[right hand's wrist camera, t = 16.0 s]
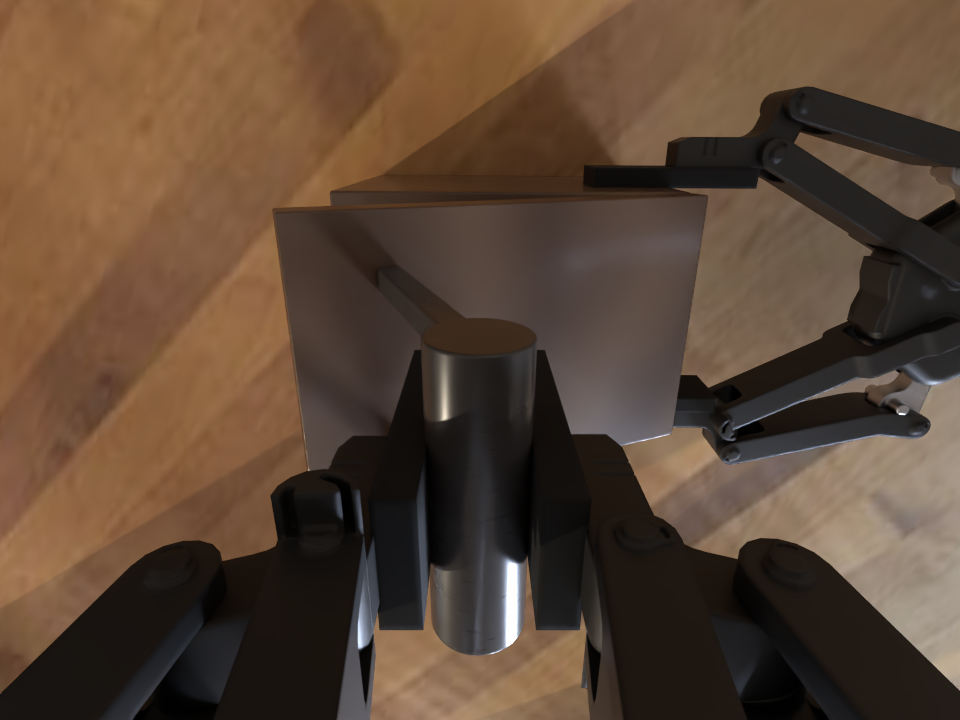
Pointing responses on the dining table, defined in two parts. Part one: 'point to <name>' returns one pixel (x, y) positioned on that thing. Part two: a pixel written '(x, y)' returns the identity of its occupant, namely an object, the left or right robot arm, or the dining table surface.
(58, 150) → the dining table surface
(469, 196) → the chest
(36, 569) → the dining table surface
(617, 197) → the lid
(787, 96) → the left robot arm
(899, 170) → the dining table surface
